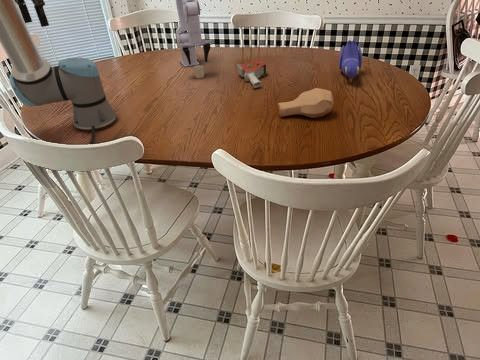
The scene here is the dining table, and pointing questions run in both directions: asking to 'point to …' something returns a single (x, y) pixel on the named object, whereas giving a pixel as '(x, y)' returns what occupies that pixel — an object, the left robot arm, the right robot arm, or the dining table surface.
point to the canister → (199, 71)
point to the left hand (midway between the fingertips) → (36, 24)
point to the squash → (309, 104)
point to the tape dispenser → (252, 72)
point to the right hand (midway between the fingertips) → (198, 62)
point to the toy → (350, 59)
